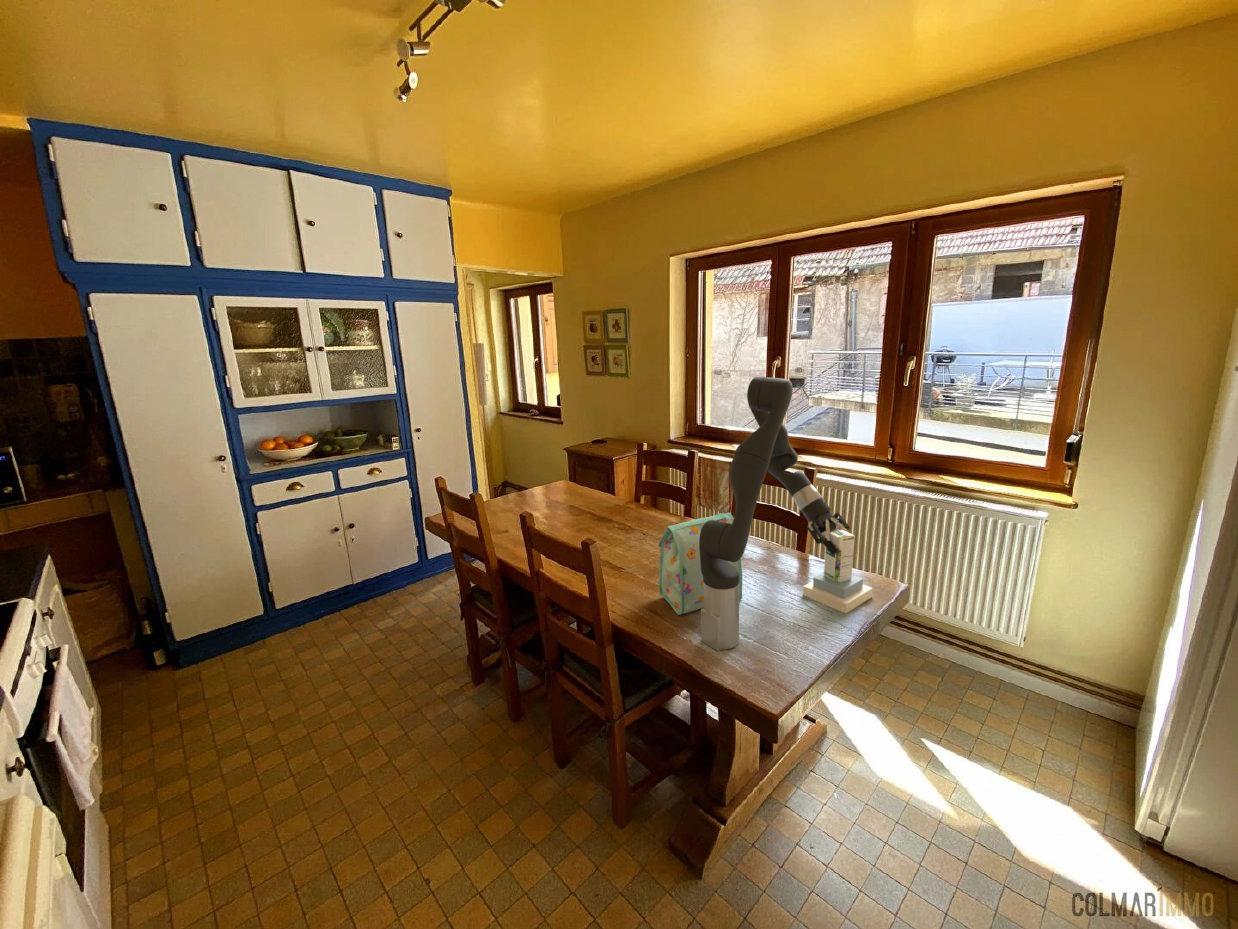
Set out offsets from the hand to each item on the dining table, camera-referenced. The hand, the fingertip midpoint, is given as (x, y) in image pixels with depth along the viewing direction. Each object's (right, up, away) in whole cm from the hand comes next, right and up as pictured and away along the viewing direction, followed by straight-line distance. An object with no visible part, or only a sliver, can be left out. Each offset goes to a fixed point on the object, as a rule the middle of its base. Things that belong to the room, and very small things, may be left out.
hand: (843, 549), depth 148 cm
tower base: (0, -15, +5) cm, 16 cm away
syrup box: (0, -9, +4) cm, 10 cm away
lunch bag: (-41, -17, +8) cm, 45 cm away
